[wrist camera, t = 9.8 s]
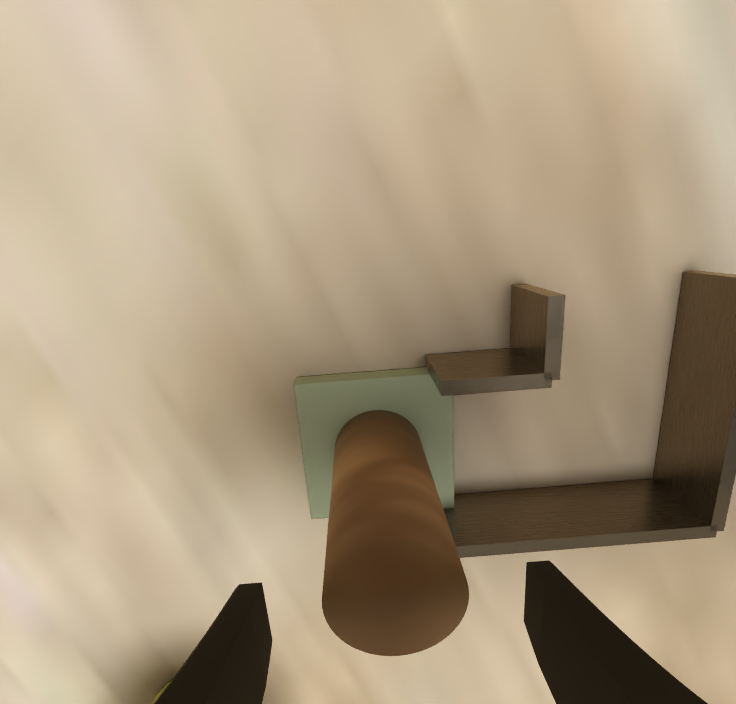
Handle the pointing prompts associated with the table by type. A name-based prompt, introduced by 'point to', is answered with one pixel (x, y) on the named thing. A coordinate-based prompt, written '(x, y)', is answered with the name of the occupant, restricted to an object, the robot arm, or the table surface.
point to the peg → (389, 543)
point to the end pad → (366, 393)
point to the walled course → (675, 448)
